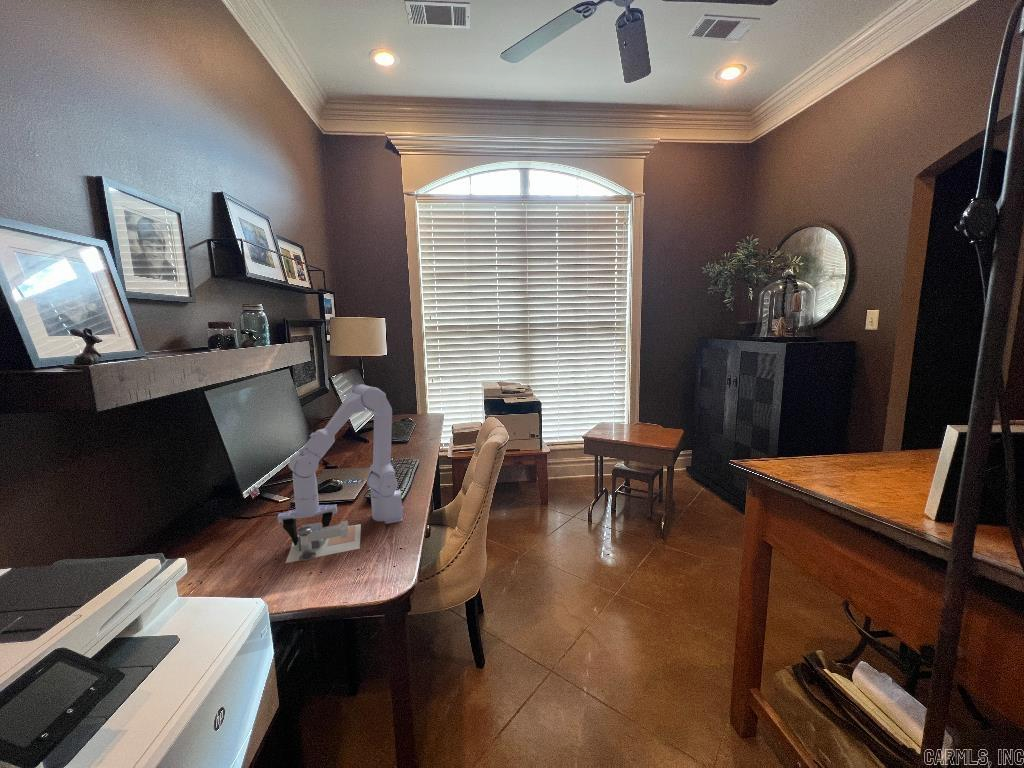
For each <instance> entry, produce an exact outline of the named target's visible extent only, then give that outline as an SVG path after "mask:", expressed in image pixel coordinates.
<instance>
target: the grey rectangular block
mask: <svg viewBox="0 0 1024 768" xmlns="http://www.w3.org/2000/svg"><path fill="white" fill-rule="evenodd" d="M307 526H309V527H311V528H312V529H317V528H322V527H323V524H322V521H321V522H314V523H309V524H308V523H307V524H303V525H301V528H302V527H307ZM298 544H299V551H302V549H301V540H300V535H299V536H298ZM320 544H321V540H317V541H312V542H311V545H312V549H315V548H320Z"/></svg>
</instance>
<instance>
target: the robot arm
mask: <svg viewBox="0 0 1024 768" xmlns="http://www.w3.org/2000/svg"><path fill="white" fill-rule="evenodd" d="M367 410H368V411H369V412H370V413H372V415H373V444H372V445H373V446H372V452H373V453H372V454H373V456H372V464H371V465H370V466H369V473H368V475H367V477H366V484H367V486H368V487H369V488H370V502H371V503H370V504H371V516H372V520H374V521H376V522H384V525H388V524H392V523H398V522H399V523H400V522H403V521H404V519H403V517H404V516H403V515H404V514H403V512H404V506H403V503H402V502H403V501H402V493H401V492H402V491H401V490H400V489H398V480H397V477H396V472H395V469H394V467H393V465H392V462H391V461H392V431H393V426H392V425H393V409H392V406H391V404H390V402H389V400H388V398H387V394H386V392H385V391H382V389H380V388H378V387H375V386H371V385H370V386H369V385H366V384H363V383H361V384H358V385H355V386H354V387H353V389H351V391H350V392H348V394H347V395H346V396H345V399H344V400H343V402H342V404H341V405H340V406H339V408H337V410H336V411H335V413H334V414H333V416H331V418H330V420H329V421H328V422H327V424H326V425H325V427H324V428H320V429H317V430H316V431H315V432H311V434H309V437H310V438H309V439H308V441H306V443H305V444H304V445H303V447H302V448H299V449H298V452H297V453H295V454H293V455H292V456H291V457H290V459H289V462H288V464H287V466H288V469H289V470H290V471H292V486H293V495H294V503H295V509H291V510H288V511H284V512H280V513H278V515H277V523H278V524H280V523H282V528H283V530H285V531H286V532H287V534H288V535H289V537H290V538H291V540H292V543H294V545H297V543H298V530H297V520H298V519H306V518H307V519H308V518H311V517H316V516H322V517H321V525H322V527H327V526H330V523H331V522H332V518H333V515H335V514H337V512H338V506H337V505H338V504H320V502H319V492H318V491H319V490H318V480H317V475H316V472H317V471H318V469H319V465H320V464H319V462H320V461H321V460H322V458H323V457H324V456H325V455H326V454H327V452H328V451H329V449H330V448H331V447H332V446H333V444H334V443H335V442H336V438H335V436H336V434H337V433H338V432H339V431H340V429H342V427H343V426H344V425H345V424H346V423H347V422H348V420H349V419H350V418H351V417H352V416H353V415H354V414H357V413H362V412H365V411H367ZM324 540H326V539H324Z"/></svg>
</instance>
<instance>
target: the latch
mask: <svg viewBox="0 0 1024 768" xmlns="http://www.w3.org/2000/svg"><path fill="white" fill-rule="evenodd" d="M348 526H349V521H348V520H341V521H340V523H339V524H333V525H329V526H327V527H323V526H322V528H317V529H312V528H311V527H309V526H307V527H302V526H301V527H302V528H299V529H298V530H297V535H300V540H301V549H302V558H309V557H311V556H312V545H311V542H312V541H317V540H322V539H327V538H333V537H338V536H341V539H342V538H347V537H348Z"/></svg>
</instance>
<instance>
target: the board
mask: <svg viewBox="0 0 1024 768" xmlns="http://www.w3.org/2000/svg"><path fill="white" fill-rule="evenodd" d="M361 530H362V524H361V523H359V524H355V525H354V524H352V525H348V537H347V538H342V539H341V536H338V537H333V538H327V539H326V540H324V539H322V540H321V544H320V548H315V549H312V556H311V557H309V558H302V551H299V544H298V543H297V545H294V543H293V542H292V544H291V547H290V549H289V552H288V555H287V557H286V560H285V564H290V563H294V562H298V561H300V562H307V561H311V560H312V559H314V558H319V557H323V556H324V557H325V556H329V555H334V554H340V553H343V552H345V553H346V552H349V551H355V550H359V549H361V532H362V531H361ZM297 535H298V534H297ZM298 536H299V535H298Z"/></svg>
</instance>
